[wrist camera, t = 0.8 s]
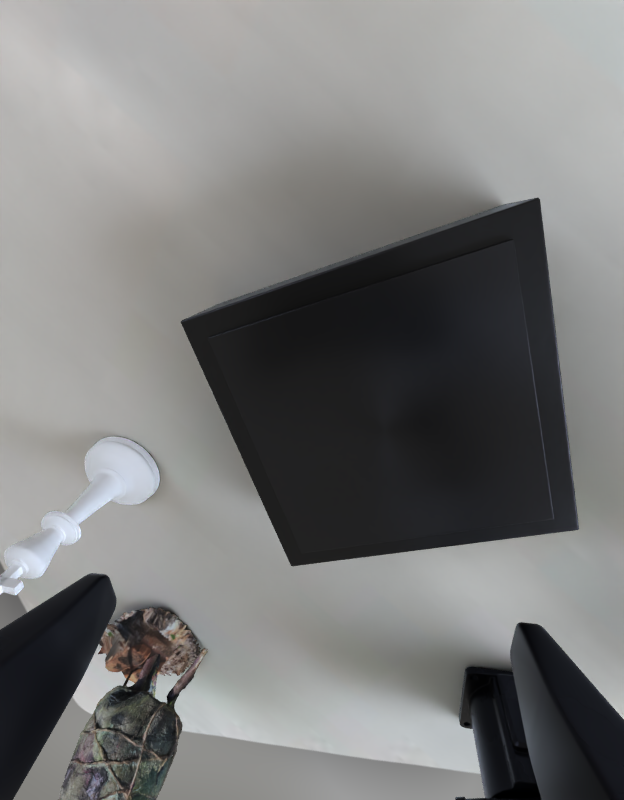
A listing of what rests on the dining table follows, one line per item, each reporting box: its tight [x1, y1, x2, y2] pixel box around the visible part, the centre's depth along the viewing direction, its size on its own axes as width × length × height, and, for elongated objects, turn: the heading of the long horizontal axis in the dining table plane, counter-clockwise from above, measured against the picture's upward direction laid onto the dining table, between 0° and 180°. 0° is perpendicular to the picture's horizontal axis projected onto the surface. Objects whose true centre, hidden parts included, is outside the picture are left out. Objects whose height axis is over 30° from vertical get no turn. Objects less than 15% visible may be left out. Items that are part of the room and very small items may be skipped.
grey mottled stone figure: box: [58, 607, 208, 800], centre depth 23 cm, size 8×11×20 cm
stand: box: [181, 198, 579, 566], centre depth 19 cm, size 14×14×4 cm
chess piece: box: [0, 437, 160, 595], centre depth 21 cm, size 5×5×10 cm
